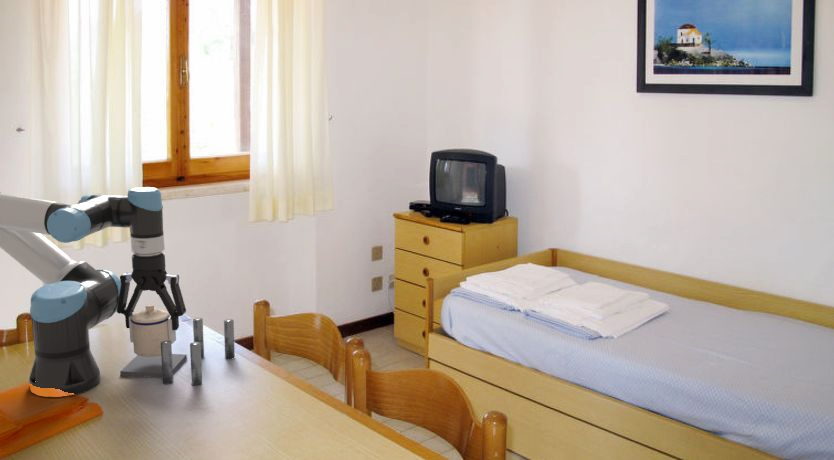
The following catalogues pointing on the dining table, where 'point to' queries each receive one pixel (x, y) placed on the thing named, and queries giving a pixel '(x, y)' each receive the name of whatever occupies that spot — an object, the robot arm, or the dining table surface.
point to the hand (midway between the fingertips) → (153, 341)
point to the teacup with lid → (149, 331)
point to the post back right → (229, 338)
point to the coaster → (150, 366)
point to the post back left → (198, 333)
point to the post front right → (196, 363)
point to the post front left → (166, 362)
